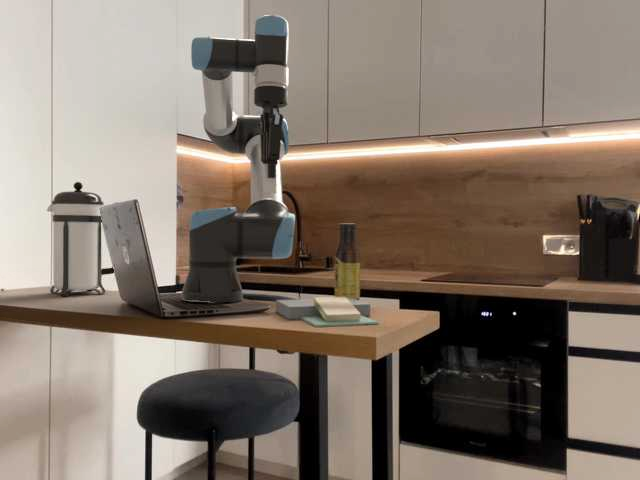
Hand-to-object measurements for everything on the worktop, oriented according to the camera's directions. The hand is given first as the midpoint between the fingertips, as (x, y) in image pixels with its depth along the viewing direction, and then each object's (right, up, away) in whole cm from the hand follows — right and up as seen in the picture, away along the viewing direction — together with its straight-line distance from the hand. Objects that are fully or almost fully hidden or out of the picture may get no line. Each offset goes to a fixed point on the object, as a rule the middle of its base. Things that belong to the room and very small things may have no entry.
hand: (269, 193), depth 132 cm
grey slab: (+12, -27, -4) cm, 29 cm away
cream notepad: (+15, -25, -13) cm, 32 cm away
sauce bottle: (+18, -27, +12) cm, 34 cm away
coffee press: (-53, -25, +26) cm, 64 cm away
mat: (+15, -27, -14) cm, 34 cm away
